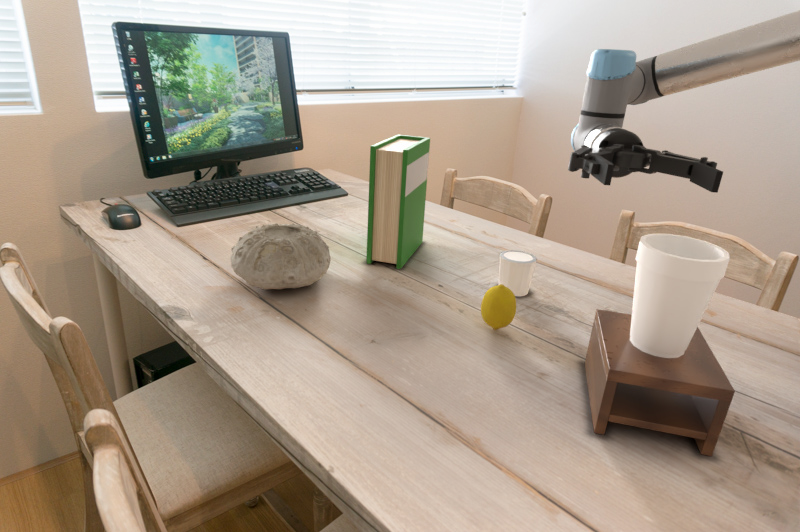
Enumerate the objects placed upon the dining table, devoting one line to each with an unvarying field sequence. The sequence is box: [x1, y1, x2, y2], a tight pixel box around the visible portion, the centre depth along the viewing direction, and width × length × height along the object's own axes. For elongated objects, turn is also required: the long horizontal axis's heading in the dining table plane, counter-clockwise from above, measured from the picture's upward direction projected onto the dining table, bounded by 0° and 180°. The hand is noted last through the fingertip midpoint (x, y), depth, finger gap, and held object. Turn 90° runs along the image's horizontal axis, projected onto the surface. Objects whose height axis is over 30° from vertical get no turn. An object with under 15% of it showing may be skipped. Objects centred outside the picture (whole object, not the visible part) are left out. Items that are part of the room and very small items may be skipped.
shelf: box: [584, 308, 736, 457], centre depth 68 cm, size 13×16×9 cm
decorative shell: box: [229, 223, 332, 291], centre depth 97 cm, size 18×18×10 cm
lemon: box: [480, 284, 517, 331], centre depth 84 cm, size 6×6×8 cm
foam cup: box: [630, 233, 731, 358], centre depth 63 cm, size 10×9×13 cm
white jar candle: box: [497, 249, 538, 297], centre depth 100 cm, size 7×7×7 cm
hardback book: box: [365, 134, 431, 270], centre depth 112 cm, size 18×7×24 cm, turn 163°
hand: (663, 178), depth 68 cm, fingers open, 13 cm apart
